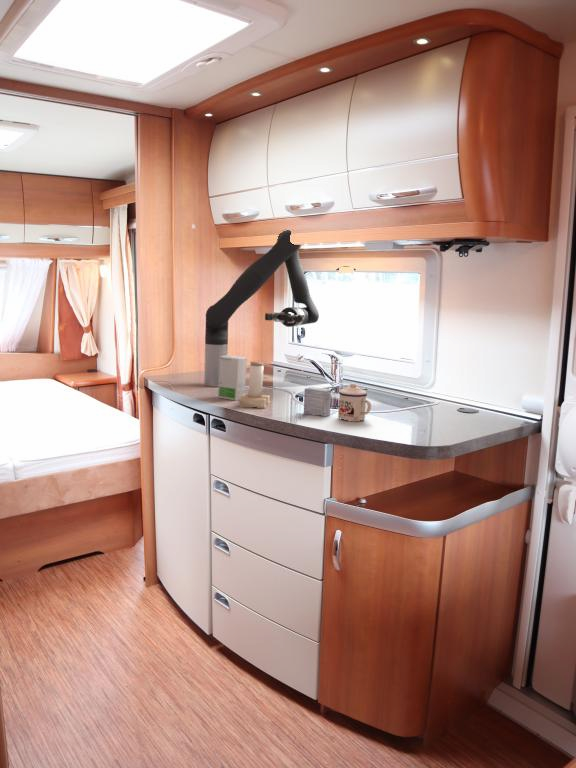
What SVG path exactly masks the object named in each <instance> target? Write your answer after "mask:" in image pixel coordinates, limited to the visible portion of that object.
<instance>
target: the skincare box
mask: <svg viewBox="0 0 576 768" xmlns="http://www.w3.org/2000/svg"><path fill="white" fill-rule="evenodd" d="M247 365H248V357H244V356H239V355H233V354H232V355H231V354H227V355H226V356H220V370H219V387H217V388H218V390H217V398H219V399H226V400H231V401H235V400H236V401H239V398H240V397H241V396H243V395H245V394H246V384H247V381H246V380H247Z"/></svg>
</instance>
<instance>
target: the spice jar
mask: <svg viewBox="0 0 576 768" xmlns="http://www.w3.org/2000/svg"><path fill="white" fill-rule="evenodd" d="M264 368H265V367H264V362H262V361H257V360H256V361H254V360H253V361H250V364H249V372H248V373H249V375H248V393H247V394H248V396H249V397H254V398H259V397H262V395H263V385H264V384H263V382H264Z"/></svg>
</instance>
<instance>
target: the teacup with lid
mask: <svg viewBox="0 0 576 768" xmlns="http://www.w3.org/2000/svg"><path fill="white" fill-rule="evenodd" d="M349 385H350V386H347V387H344V388H342V389H339V391H338V396H339V398H338V399H339V400H338V415H337V417H339V418H341V419H345V420H350V421H349V422H351V421H358V422H361V421H360V420H363V421H365V419H366V415H368V414H370V411H371V410H372V404H371V401H370V400H369V399H367V396H368V393H367V391H366V390H364V389H361V388H360V387H359V386H357V383H353V382H351V383H350V384H349ZM366 404H367V408H366ZM339 418H338V419H339ZM341 419H340V420H341Z"/></svg>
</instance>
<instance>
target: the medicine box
mask: <svg viewBox="0 0 576 768" xmlns="http://www.w3.org/2000/svg"><path fill="white" fill-rule="evenodd" d="M331 394H332V390H331V389H330V388H322V387H314V386H310V387H306V388H304V398H303V399H304V400H303V401H304V402H303V414H304V413H306V415H311V414H315V415H314V416H317V415H323V416H322V417H326V416H325V415H327V416H329V415H328V414H330V415H331V400H332V399H331V397H332V395H331Z"/></svg>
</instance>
